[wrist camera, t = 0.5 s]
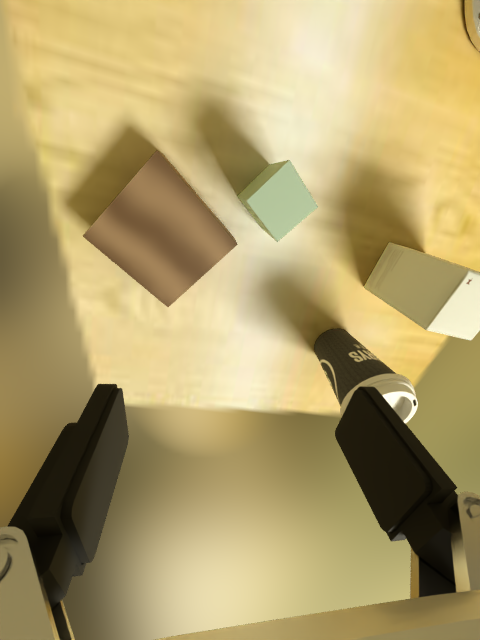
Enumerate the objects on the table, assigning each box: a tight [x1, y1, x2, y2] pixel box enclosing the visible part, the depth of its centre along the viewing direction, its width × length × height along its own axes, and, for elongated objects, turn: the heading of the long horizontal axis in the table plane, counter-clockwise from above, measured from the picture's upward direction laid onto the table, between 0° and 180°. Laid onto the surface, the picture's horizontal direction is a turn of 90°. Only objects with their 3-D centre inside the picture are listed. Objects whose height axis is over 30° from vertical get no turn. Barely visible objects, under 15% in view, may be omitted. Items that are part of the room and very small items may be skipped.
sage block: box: [237, 160, 318, 242], centre depth 27 cm, size 5×5×8 cm
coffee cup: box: [314, 329, 418, 423], centre depth 37 cm, size 10×10×15 cm
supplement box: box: [364, 242, 480, 340], centre depth 32 cm, size 7×7×13 cm
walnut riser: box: [83, 151, 237, 307], centre depth 30 cm, size 12×12×4 cm
